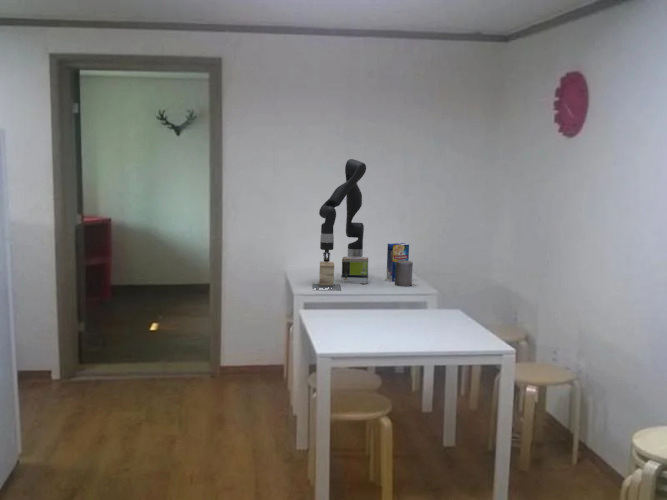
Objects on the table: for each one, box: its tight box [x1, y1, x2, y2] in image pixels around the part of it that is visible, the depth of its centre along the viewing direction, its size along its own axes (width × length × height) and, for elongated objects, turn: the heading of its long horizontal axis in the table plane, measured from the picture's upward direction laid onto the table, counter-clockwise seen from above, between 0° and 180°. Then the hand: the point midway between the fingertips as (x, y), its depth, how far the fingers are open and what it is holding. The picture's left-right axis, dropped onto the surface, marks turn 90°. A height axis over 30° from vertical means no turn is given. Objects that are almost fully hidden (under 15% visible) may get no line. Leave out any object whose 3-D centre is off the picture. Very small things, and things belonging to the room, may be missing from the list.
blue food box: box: [385, 242, 410, 283], centre depth 433 cm, size 7×11×22 cm, turn 116°
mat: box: [311, 283, 342, 292], centre depth 405 cm, size 20×16×1 cm
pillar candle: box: [394, 259, 414, 287], centre depth 419 cm, size 10×10×15 cm
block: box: [318, 260, 335, 286], centre depth 408 cm, size 5×8×13 cm, turn 92°
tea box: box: [341, 256, 369, 285], centre depth 424 cm, size 15×10×15 cm
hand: (326, 271), depth 413 cm, fingers closed
